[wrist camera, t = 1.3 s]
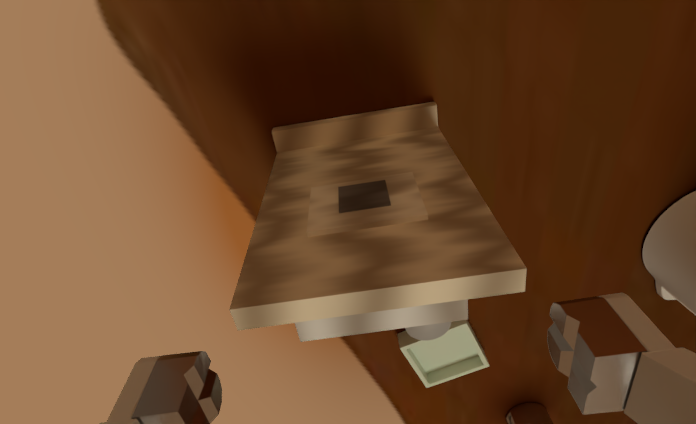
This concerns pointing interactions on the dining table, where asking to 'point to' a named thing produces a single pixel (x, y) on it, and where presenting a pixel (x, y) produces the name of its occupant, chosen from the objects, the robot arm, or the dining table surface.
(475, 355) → the service tray
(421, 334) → the cartridge
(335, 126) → the plate
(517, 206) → the dining table surface
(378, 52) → the dining table surface
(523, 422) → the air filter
